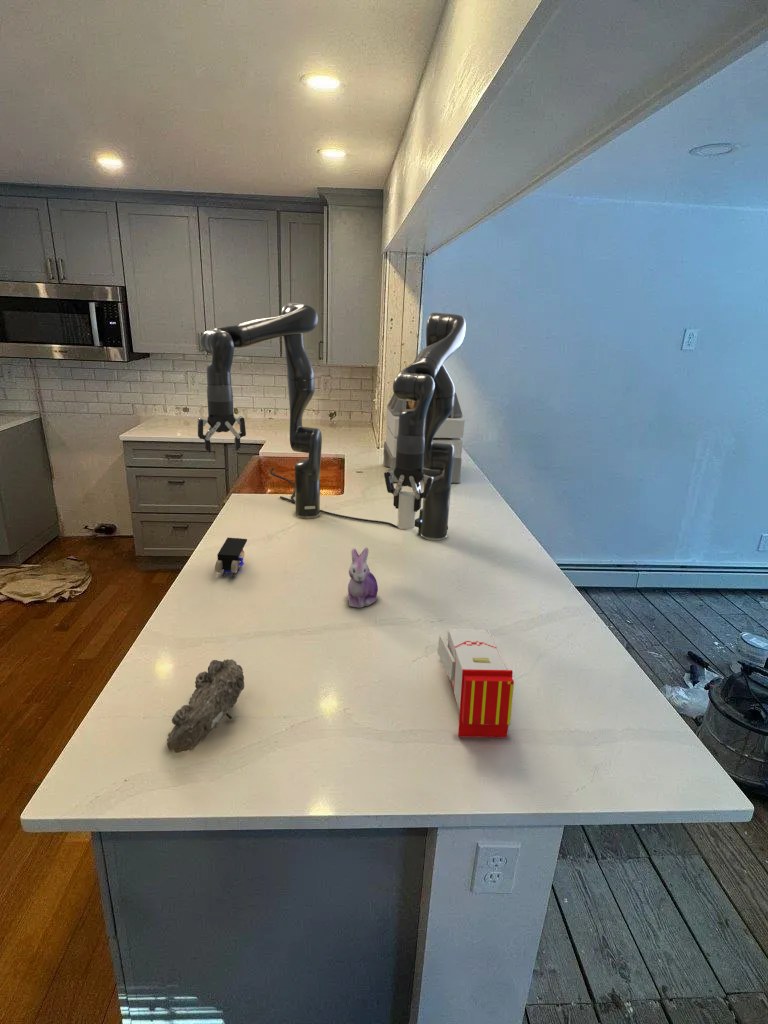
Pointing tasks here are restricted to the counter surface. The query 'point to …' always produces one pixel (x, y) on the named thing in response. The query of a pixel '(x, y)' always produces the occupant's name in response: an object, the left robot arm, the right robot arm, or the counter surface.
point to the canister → (406, 510)
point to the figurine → (361, 581)
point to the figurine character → (230, 556)
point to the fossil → (206, 705)
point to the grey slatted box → (445, 434)
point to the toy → (478, 682)
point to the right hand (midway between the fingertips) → (407, 509)
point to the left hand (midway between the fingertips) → (223, 450)
